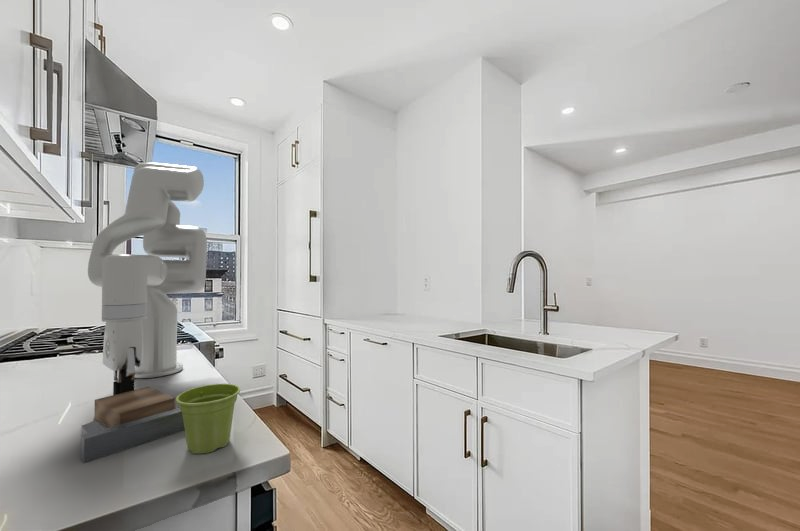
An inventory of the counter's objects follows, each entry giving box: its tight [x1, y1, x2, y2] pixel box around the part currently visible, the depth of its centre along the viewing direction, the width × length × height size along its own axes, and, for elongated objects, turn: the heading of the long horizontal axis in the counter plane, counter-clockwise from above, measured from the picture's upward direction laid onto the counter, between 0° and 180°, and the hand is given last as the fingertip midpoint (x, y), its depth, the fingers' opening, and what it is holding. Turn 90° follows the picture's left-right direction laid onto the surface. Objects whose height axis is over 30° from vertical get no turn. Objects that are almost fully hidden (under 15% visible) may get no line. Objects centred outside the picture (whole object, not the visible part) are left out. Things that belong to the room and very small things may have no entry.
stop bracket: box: [80, 407, 185, 463], centre depth 63 cm, size 8×20×4 cm, turn 142°
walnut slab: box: [93, 386, 176, 428], centre depth 68 cm, size 12×9×4 cm
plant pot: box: [175, 383, 241, 455], centre depth 58 cm, size 9×9×9 cm
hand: (123, 399), depth 73 cm, fingers closed
